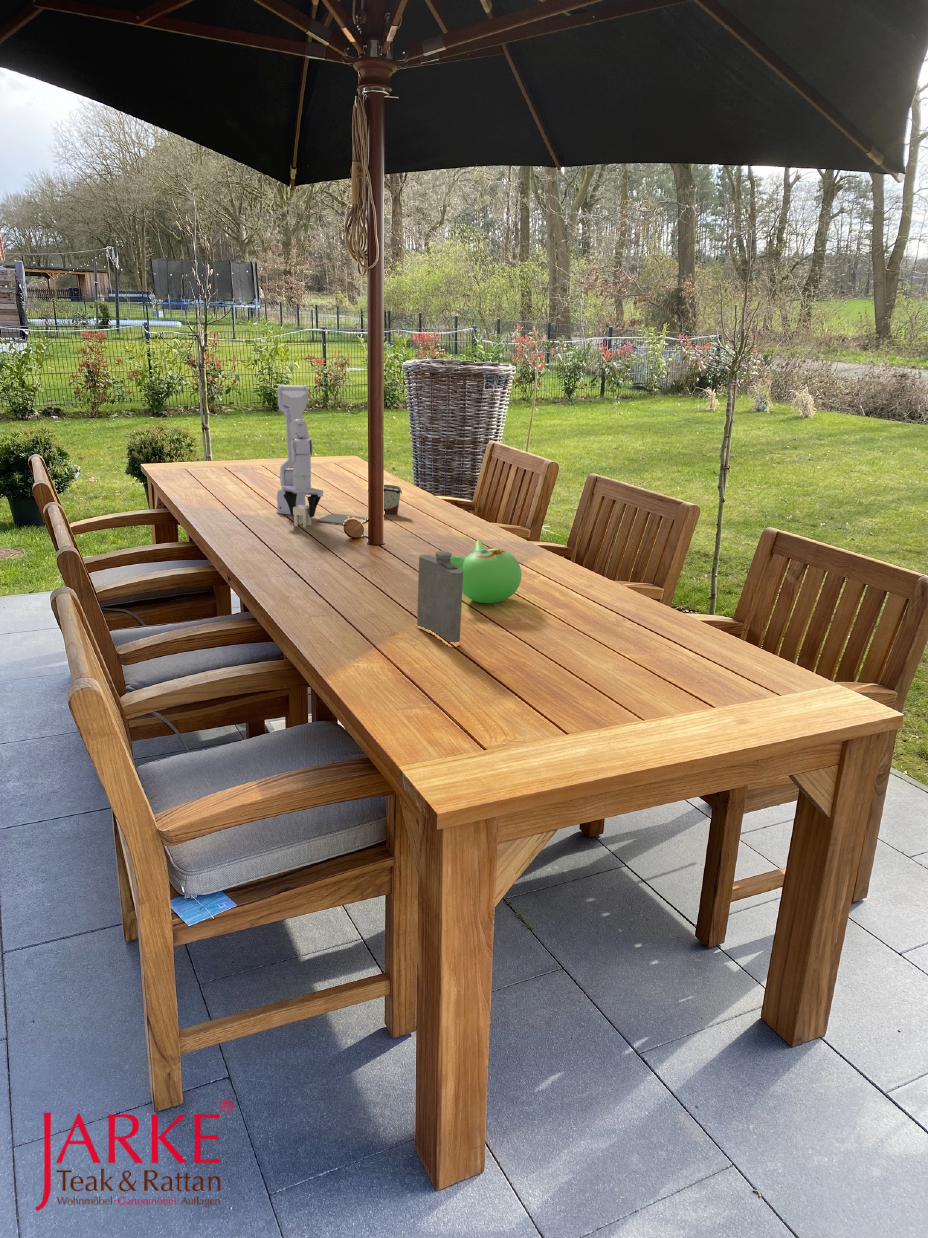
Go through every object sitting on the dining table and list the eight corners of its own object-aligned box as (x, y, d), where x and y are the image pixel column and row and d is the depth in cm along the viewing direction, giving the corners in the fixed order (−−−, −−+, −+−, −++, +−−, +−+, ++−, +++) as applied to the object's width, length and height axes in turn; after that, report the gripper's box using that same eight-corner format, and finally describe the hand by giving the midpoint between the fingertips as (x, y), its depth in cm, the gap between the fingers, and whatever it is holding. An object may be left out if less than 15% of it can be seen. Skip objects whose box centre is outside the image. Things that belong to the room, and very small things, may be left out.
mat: (316, 521, 307) (316, 519, 306) (332, 514, 317) (332, 513, 317) (356, 526, 302) (356, 525, 302) (370, 519, 313) (370, 518, 313)
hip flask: (414, 626, 212) (416, 545, 206) (429, 624, 215) (431, 543, 208) (450, 648, 200) (454, 562, 193) (465, 645, 202) (469, 560, 196)
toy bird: (496, 616, 222) (500, 559, 217) (440, 602, 231) (442, 547, 226) (530, 598, 237) (534, 545, 232) (476, 586, 245) (479, 534, 240)
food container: (404, 512, 326) (404, 485, 323) (401, 516, 320) (401, 488, 317) (370, 510, 327) (371, 483, 324) (367, 513, 321) (367, 486, 318)
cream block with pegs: (293, 526, 299) (292, 507, 297) (299, 523, 303) (299, 504, 301) (305, 527, 298) (305, 508, 296) (312, 524, 302) (311, 506, 300)
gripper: (276, 474, 293) (277, 515, 298) (316, 479, 289) (316, 520, 294) (287, 471, 300) (287, 511, 304) (326, 475, 296) (326, 516, 300)
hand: (302, 515), depth 300 cm, fingers open, 6 cm apart
